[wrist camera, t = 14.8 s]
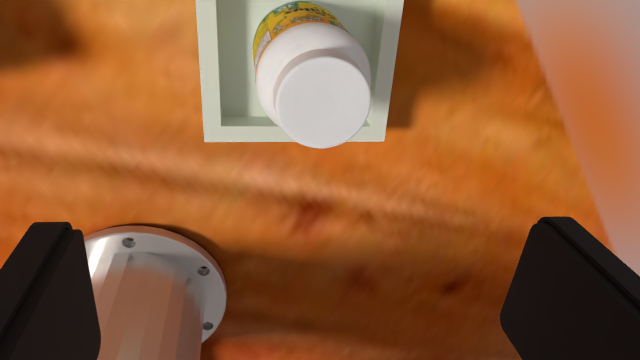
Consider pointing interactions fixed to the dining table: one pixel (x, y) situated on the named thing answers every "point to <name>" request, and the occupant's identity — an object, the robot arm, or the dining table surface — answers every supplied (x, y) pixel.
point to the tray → (239, 77)
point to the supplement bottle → (311, 74)
